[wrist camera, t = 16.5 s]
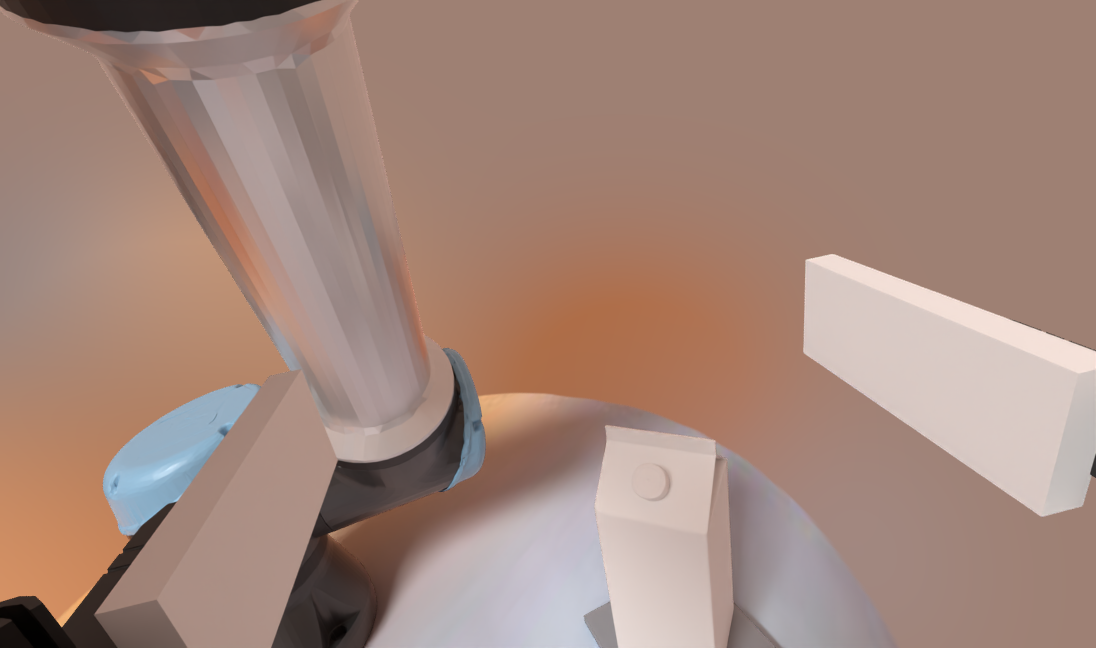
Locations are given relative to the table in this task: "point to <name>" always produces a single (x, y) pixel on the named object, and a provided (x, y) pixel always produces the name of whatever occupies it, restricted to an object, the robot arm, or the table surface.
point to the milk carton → (665, 539)
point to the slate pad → (743, 640)
